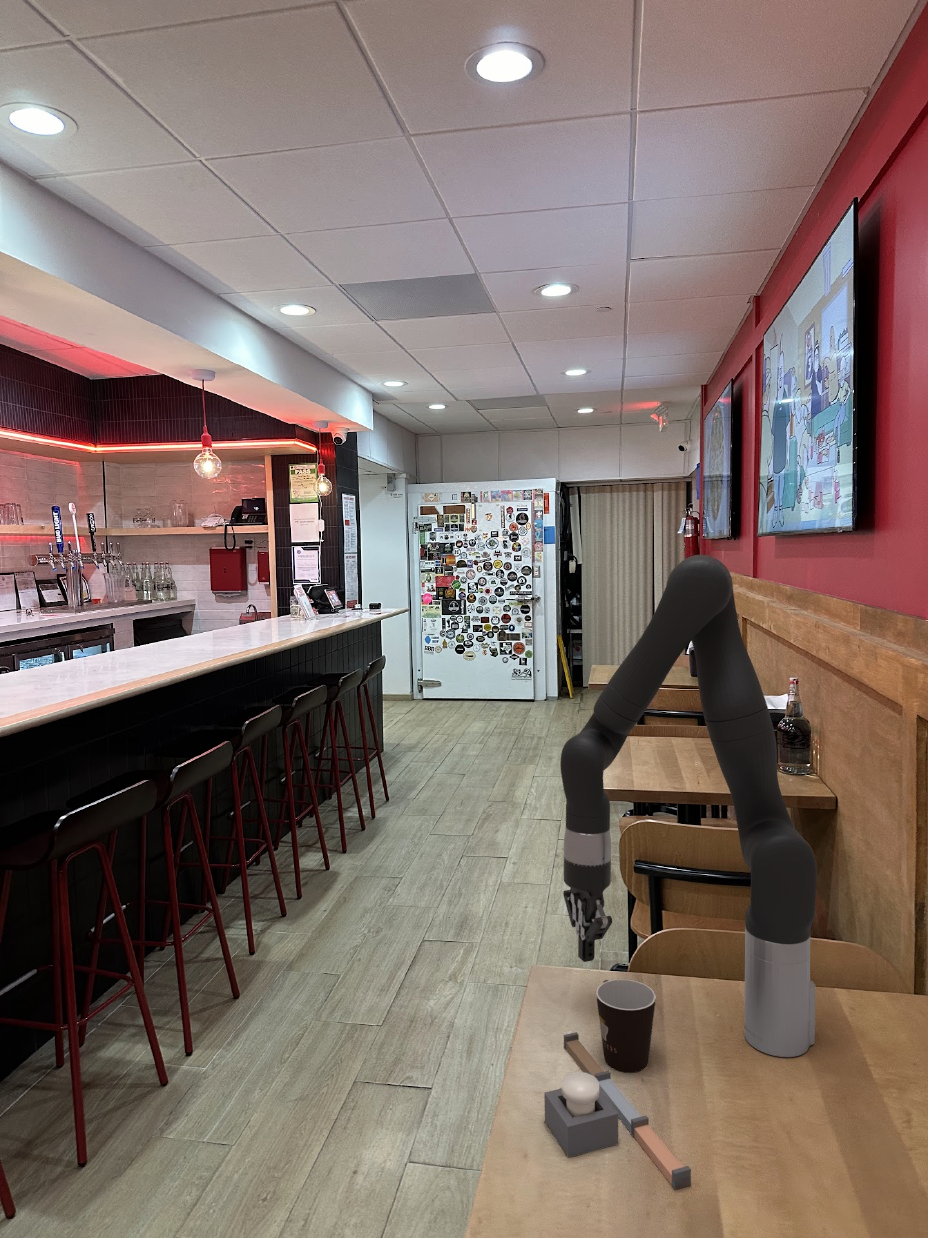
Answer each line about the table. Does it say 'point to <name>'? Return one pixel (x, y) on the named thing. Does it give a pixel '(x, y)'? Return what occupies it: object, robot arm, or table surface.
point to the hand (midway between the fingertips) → (586, 959)
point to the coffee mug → (626, 1023)
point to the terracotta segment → (660, 1153)
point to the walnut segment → (581, 1054)
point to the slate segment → (616, 1098)
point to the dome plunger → (580, 1093)
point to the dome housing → (581, 1125)
